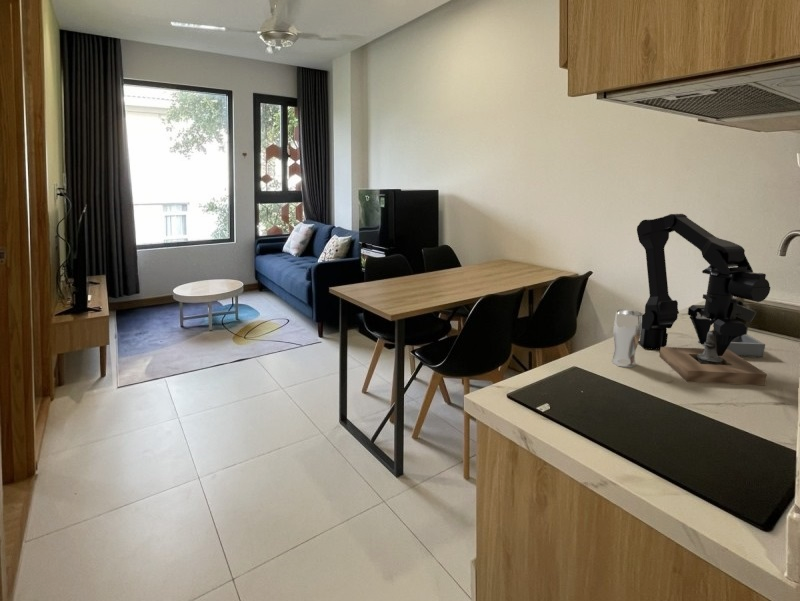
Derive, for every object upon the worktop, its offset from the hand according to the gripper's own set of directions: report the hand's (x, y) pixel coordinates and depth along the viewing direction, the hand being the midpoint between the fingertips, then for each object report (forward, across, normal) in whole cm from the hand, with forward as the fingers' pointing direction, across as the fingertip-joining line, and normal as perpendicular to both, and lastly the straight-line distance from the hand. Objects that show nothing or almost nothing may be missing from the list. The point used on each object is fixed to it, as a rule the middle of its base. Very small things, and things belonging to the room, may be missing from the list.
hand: (710, 349), depth 123 cm
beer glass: (+6, +2, +21) cm, 22 cm away
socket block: (+6, 0, 0) cm, 6 cm away
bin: (+6, +18, -14) cm, 23 cm away
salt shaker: (+6, 0, 0) cm, 6 cm away
